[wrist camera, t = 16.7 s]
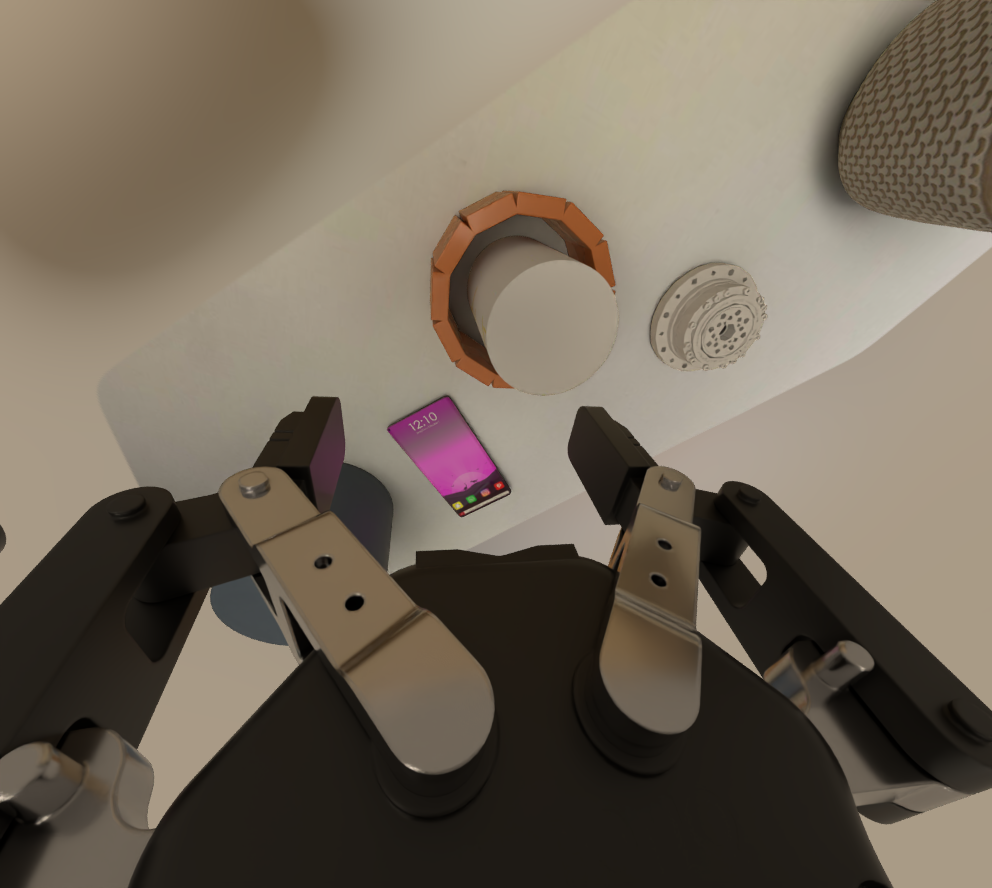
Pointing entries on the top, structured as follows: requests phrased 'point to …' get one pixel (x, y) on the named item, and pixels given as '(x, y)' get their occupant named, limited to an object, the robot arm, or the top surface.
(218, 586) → the stand
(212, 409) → the top surface
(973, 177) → the planter
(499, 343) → the white patterned cylinder
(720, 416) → the top surface
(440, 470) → the smartphone
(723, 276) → the mechanical component
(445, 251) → the ring
